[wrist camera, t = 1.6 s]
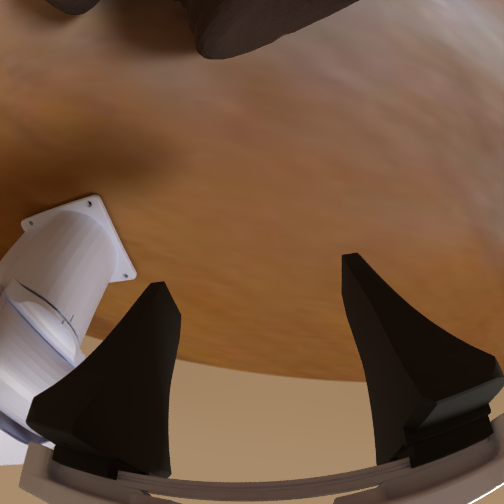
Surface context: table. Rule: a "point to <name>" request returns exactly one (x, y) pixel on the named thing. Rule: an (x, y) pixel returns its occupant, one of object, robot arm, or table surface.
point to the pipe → (237, 21)
